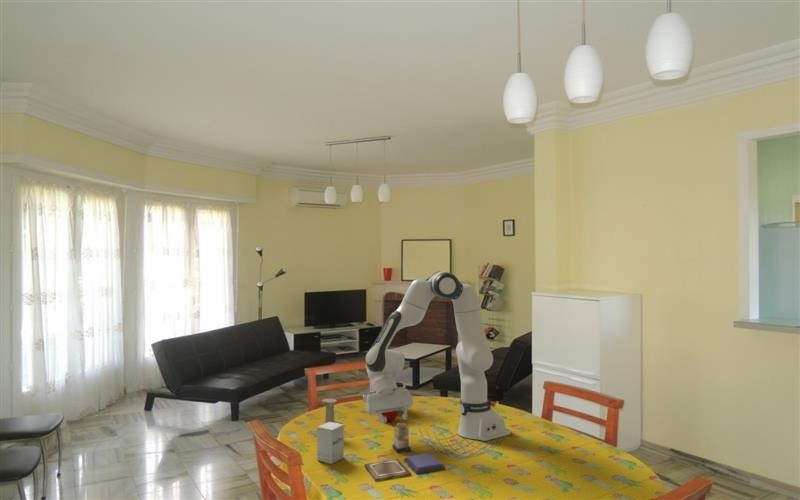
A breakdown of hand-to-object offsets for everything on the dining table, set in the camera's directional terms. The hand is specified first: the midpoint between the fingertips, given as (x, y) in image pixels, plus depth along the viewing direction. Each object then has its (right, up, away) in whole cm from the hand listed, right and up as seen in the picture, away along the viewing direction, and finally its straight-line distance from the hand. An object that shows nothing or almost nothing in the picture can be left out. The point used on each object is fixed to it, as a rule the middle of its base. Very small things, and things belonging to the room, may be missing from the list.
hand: (395, 420), depth 204 cm
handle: (-28, -11, +11) cm, 32 cm away
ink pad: (+11, -10, -19) cm, 24 cm away
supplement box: (-24, -10, -13) cm, 29 cm away
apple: (-3, -11, +31) cm, 33 cm away
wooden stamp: (+2, -10, -4) cm, 11 cm away
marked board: (-3, -10, -24) cm, 26 cm away
